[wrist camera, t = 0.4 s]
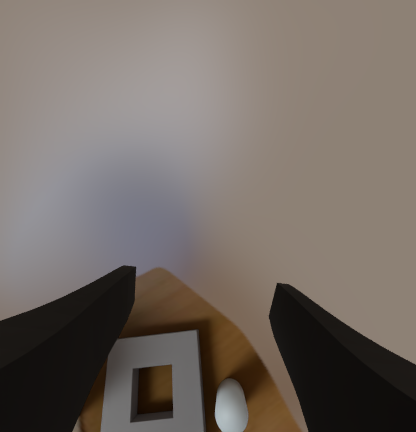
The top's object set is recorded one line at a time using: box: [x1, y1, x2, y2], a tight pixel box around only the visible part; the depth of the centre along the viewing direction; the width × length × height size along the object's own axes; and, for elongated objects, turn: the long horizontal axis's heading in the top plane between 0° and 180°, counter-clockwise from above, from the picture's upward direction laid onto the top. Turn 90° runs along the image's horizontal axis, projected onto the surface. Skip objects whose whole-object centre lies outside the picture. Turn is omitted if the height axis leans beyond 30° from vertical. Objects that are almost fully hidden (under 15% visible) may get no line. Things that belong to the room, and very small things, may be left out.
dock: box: [101, 329, 206, 432], centre depth 29 cm, size 14×14×2 cm
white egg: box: [215, 378, 248, 432], centre depth 27 cm, size 4×4×6 cm
